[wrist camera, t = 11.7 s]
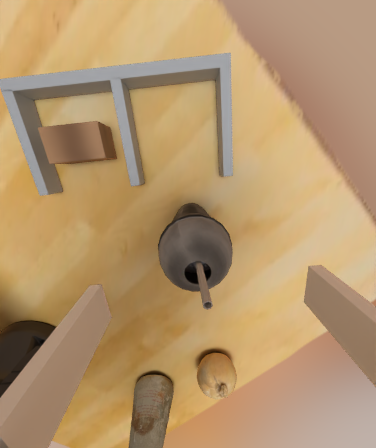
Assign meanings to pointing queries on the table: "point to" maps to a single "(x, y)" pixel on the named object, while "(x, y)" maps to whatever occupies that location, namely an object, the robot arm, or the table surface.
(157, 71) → the slot rack
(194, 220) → the beverage cup
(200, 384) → the onion
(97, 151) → the walnut bar
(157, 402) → the bottle
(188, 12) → the table surface
